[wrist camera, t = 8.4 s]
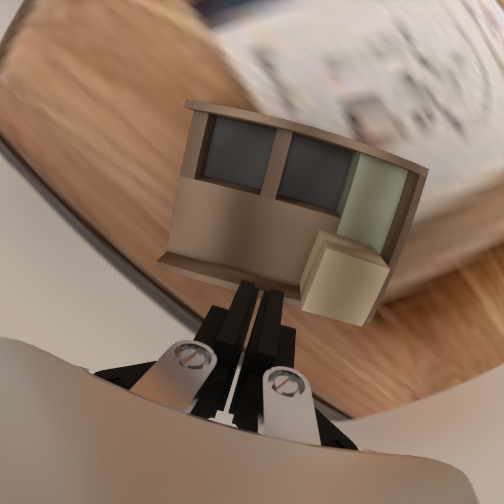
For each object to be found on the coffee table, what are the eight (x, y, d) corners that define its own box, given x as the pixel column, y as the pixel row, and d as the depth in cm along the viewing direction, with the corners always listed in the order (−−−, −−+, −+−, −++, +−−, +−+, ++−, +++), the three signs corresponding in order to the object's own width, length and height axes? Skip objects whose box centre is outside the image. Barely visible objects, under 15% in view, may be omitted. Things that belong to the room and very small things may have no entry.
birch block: (373, 246, 20) (390, 269, 16) (351, 296, 21) (362, 326, 18) (319, 228, 20) (326, 248, 16) (299, 281, 21) (301, 310, 18)
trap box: (403, 163, 20) (428, 169, 16) (357, 294, 24) (369, 324, 20) (205, 107, 20) (186, 99, 16) (177, 246, 24) (155, 267, 20)
